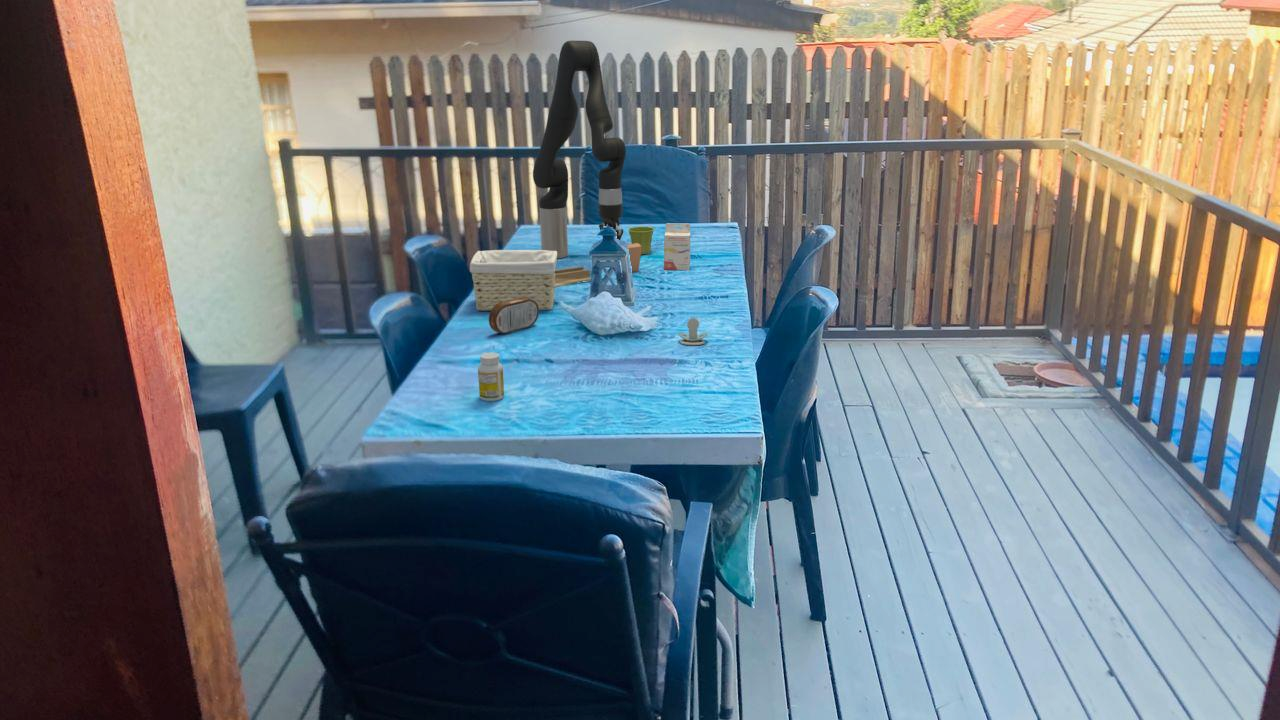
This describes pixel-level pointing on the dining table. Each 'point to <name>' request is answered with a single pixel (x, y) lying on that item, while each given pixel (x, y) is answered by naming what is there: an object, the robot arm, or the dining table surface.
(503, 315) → the tin
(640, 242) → the plant pot
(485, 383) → the supplement bottle
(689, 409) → the dining table surface
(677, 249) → the ink cartridge box
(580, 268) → the holder
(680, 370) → the dining table surface
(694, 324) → the pacifier
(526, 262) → the storage basket
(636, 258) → the cover plate
